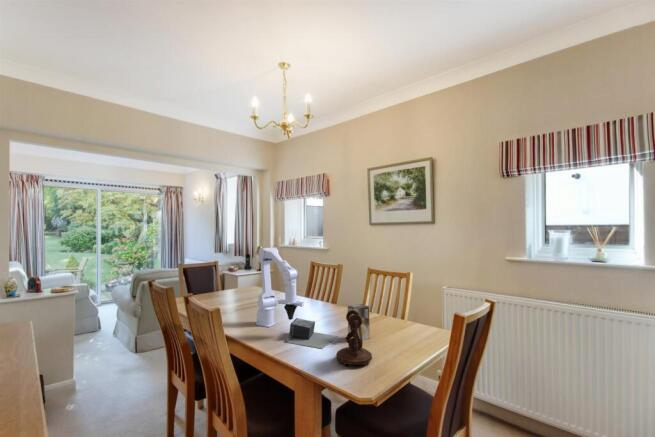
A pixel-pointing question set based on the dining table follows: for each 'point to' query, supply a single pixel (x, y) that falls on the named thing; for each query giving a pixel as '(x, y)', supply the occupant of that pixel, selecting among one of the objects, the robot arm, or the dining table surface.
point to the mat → (313, 340)
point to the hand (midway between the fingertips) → (290, 319)
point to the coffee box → (364, 315)
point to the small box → (302, 328)
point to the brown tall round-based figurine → (354, 343)
